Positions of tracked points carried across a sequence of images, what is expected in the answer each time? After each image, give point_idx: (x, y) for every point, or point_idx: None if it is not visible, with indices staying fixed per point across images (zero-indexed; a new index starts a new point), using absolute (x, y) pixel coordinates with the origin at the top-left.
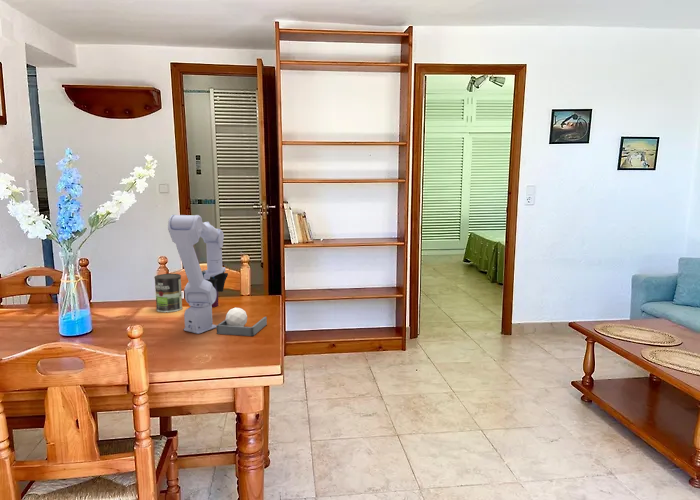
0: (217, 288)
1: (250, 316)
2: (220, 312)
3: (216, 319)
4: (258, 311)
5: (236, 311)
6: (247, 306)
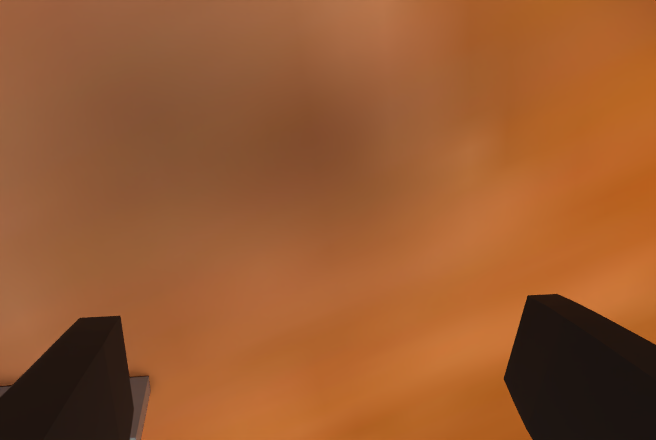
0: (569, 339)
1: (352, 419)
2: (464, 127)
3: (200, 199)
4: (493, 414)
5: None
6: (652, 285)
